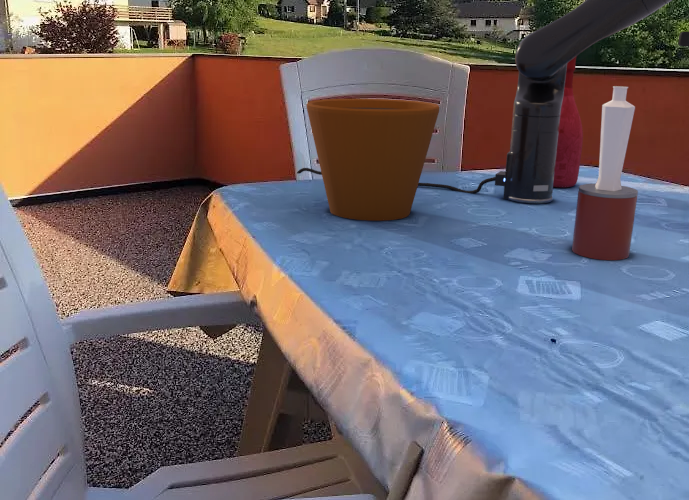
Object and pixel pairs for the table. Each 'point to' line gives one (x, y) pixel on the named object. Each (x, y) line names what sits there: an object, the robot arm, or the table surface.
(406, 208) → the flower pot
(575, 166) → the wine bottle
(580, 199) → the tin can
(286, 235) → the table surface
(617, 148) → the perfume bottle
